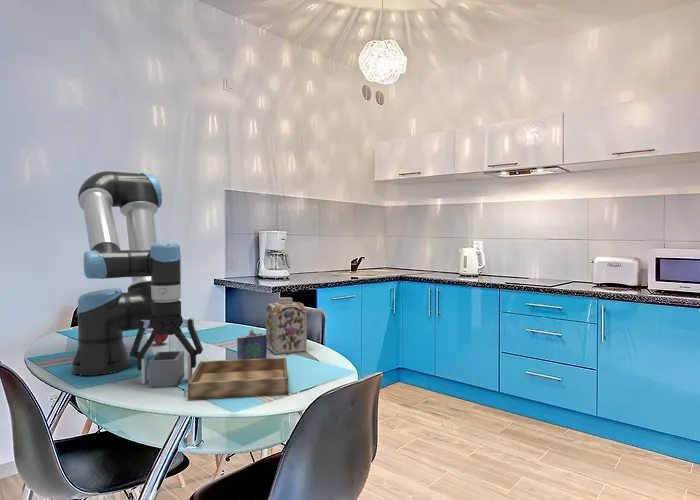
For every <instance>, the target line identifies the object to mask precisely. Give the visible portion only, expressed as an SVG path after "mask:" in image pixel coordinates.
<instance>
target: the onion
mask: <svg viewBox="0 0 700 500" xmlns="http://www.w3.org/2000/svg"><path fill="white" fill-rule="evenodd" d="M153 331H154V329H153V328H152V330H151V333H150V335H151V334H152V333H153ZM168 338H169V335H159V334H158V335H157V337H156V338H155V340H154V341H153V343H155V344H157V345H159V346H160V345H162V344H163V343H164V342H166V340H168Z"/></svg>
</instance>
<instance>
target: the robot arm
mask: <svg viewBox="0 0 700 500" xmlns="http://www.w3.org/2000/svg"><path fill="white" fill-rule="evenodd" d="M162 195H163V193H162V187H161V184H160V181H159V179H158V177H157V176H155V175H154V174H149V173H145V172H140V173H136V172H125V171H124V172H122V171H113V170H112V171H111V170H110V171H109V170H108V171H101V172H100V171H99V172H98V173H95V174H93V175H91V176H90V177H88V178H87V179H86V180H85V181H84V182H83V183H82V184H81V186H80V188H79V191H78V194H77V200H78V204H79V207H80V208H81V210H82V211H83V215H84V219H85V220H84V221H85V227H86V232H87V239H88V244H89V245H88V246H89V250H87V251H85V252H84V253H83V259H82V261H83V262H82V263H83V272H84V273H83V274H84V276H85V278H87V279H99V280H105V279H118V278H119V279H121V278H131V283H130V284H129V286H128V287H127V292H123V290H122V288H119V287H115V288H105V289H100V290H94V291H91V292H87V293H84V294H82V295H80V296H79V298H78V299H77V310H76V313H77V328H78V329H77V334H78V335H77V338H78V339H77V341H78V343H77V348H76V351H75V354H74V358H73V359H72V363H71V373H72V372H73V373H75V374H81V375H94V376H98V375H97V374H104V375H106V374H105V373H110V372H114V371H118V370H121V371H123V370H122V369H124V368H126V369H128V368H129V367H130V366H131V365H130V364H131V363H130V357H131V358H136V360H137V371H141V384H142V385H143V384H144V385H145V384H146V383H147V381H148V356H146V353H147V351H148V350H149V348H150V347H151V346H152V344H153V343H154V340H155V338H156V337H157V335H158V334H159V335H168V336H173V335H174V336H175V337H176V338H177V339H178V340H179V342H180V343H181V345H182V346H183V347H184V349H185V350H186V352H187V353H188V354H189V355H188V356H187V382H189V380H190V379H191V377H192V375H193V369H194V368H195V369H196V367H197V356H198V355H201V354H202V353H203V350H204V348H203V346H202V344H201V343H202V342H201V340H200V338H199V336H198V333H197V331H196V328H195V326H194V325H195V322H194V321H195V319H194V318H193V317H190V318H183V316H182V301H181V300H180V299H181V298H182V284H181V283H182V282H181V280H182V276H181V275H182V272H181V269H182V268H181V267H182V266H181V265H182V264H181V263H182V262H181V260H182V259H181V258H182V254H181V245H179V244H178V243H175V242H174V243H173V242H171V243H170V242H165V243H164V242H163V243H162V242H161V243H160V242H159V243H158V240H157V231H156V230H157V229H156V223H155V222H156V221H155V215H156V213H158V210H159V208H161V206H162V205H163V196H162ZM113 207H114V208H115V207H117V208H119V211H120V214H121V215H123V216H124V217H125V219H126V231H127V239H128V249H127V250H126V249H124V250H123V249H121V245H120V241H119V237H118V236H119V235H118V232H117V229H116V227H117V226H116V223H115V219H114V213H113V210H112V208H113ZM183 324H184V325H185V327H186V328H187V330H188V333H189V336H190V338H191V340H192V343H193V345H194V347H193V345H192V344H191V342H190V341H189V340H188V338H187V337H186V336H185V334H184V332H183V331H182V329H181V326H182V325H183ZM147 329H152V330H153V329H154V331H153V333H152V334H151V333H150V336H149V338H148V339H147V341H145V343H144V345H143V347H142V348H141V350H140V351H139V348H140V346H141V343H142V341H143V337H144V335H145V332H146V330H147ZM135 330H136V331H137V333H136V337H135V339H134V341H133V343H132V347H131V349H130V353H129V354H128V351H127V348H126V346H125V344H124V339H123V336H124V335H123V332H128V331H135ZM128 366H129V367H128ZM127 367H128V368H127ZM124 370H125V369H124ZM118 372H119V371H118ZM73 373H72V374H73ZM114 373H115V372H114ZM75 374H74V375H75ZM110 374H111V373H110ZM81 375H80V376H81Z"/></svg>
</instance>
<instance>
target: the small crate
mask: <svg viewBox="0 0 700 500" xmlns="http://www.w3.org/2000/svg"><path fill="white" fill-rule="evenodd" d="M184 377H185V351H184V350H172V351H171V350H169V351H168V350H166V351H157V352H156V353H155V354H154V355H152V357H151V359H149V360H148V388H149V389H155V388H156V389H157V388H160V389H161V388H177V387H178V386H179V384H180V383H181V382H182V380H183V378H184Z"/></svg>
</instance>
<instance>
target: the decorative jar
mask: <svg viewBox="0 0 700 500" xmlns="http://www.w3.org/2000/svg"><path fill="white" fill-rule="evenodd" d="M307 313H308V312H307V309H306V308H305V304H304V303H301V302H299V301H298V302H297V301H293V298H292V297H289V296H288V297H287V296H286V297H279V298H278V301H276V302H271V303H268V306H267V307H266V310H265V323H266V324H265V331H266V332H265V334H266V335H267V338H266V339H267V343H266V344H267V347H266V348H267V349H268V350H269V351H270V352H271V353H272V354H273V355H286V354H294V353H295V354H296V353H304V352H306V351H307V347H308V346H307V345H308V337H307V336H308V333H307V332H308V331H307V329H308V326H307V325H308V324H307V322H308V320H307V319H308V318H307V317H308V315H307Z"/></svg>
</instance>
